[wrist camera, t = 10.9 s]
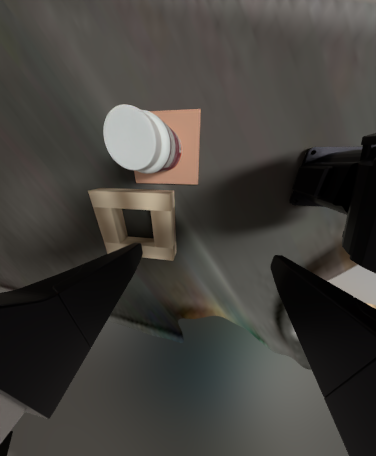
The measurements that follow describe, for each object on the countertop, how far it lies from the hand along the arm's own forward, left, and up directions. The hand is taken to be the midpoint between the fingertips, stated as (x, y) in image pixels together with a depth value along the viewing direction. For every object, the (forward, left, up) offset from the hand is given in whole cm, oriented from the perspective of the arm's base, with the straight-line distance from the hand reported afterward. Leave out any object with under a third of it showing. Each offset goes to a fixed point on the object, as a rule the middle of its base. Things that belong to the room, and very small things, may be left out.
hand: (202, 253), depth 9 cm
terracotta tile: (+6, -7, -12) cm, 15 cm away
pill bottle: (+6, -7, -12) cm, 15 cm away
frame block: (+11, +3, -12) cm, 17 cm away
